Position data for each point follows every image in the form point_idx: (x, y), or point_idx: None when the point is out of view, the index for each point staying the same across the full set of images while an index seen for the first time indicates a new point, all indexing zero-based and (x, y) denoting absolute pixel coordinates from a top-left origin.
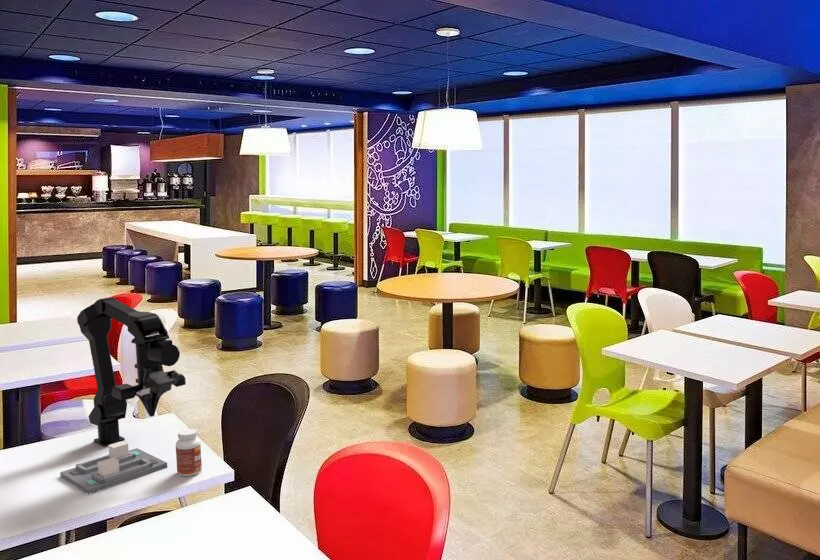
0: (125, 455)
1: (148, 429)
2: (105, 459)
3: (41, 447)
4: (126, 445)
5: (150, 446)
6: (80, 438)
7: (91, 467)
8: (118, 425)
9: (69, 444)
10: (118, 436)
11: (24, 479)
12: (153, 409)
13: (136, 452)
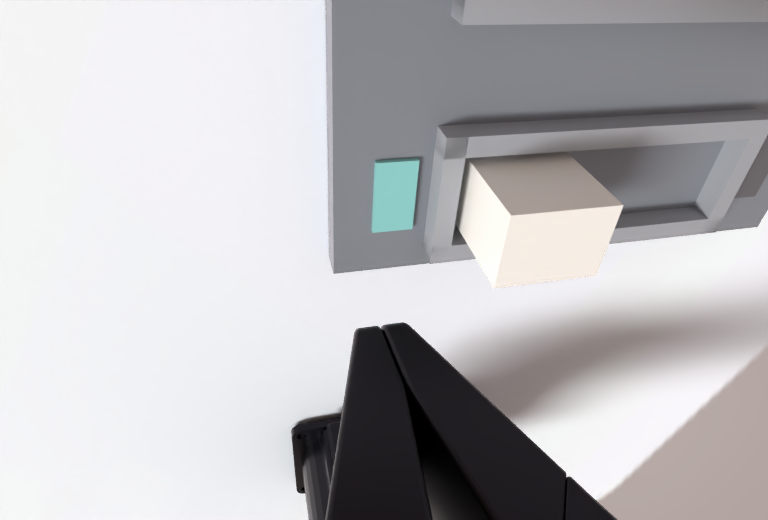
0: (499, 166)
1: (126, 485)
2: None
3: None
4: (520, 206)
5: (220, 287)
6: None
7: (731, 132)
8: (321, 512)
9: None
10: (335, 442)
11: None
12: (405, 413)
13: (385, 201)
